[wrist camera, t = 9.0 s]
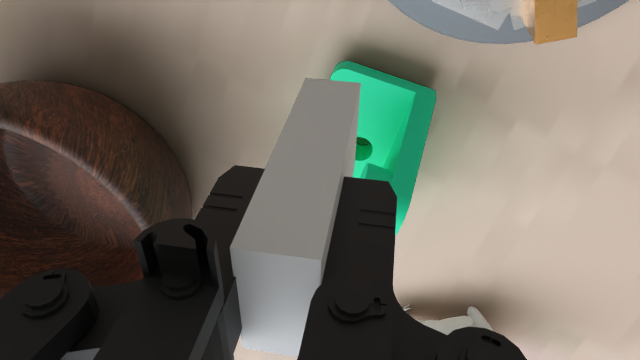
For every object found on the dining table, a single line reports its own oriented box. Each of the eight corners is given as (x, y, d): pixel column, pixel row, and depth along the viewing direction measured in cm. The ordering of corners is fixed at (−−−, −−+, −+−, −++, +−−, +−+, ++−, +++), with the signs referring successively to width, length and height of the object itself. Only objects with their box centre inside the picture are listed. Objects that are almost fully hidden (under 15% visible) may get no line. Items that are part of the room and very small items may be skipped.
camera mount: (340, 51, 36) (313, 114, 28) (435, 84, 36) (437, 156, 28) (301, 173, 43) (272, 251, 35) (381, 200, 43) (370, 284, 35)
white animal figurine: (493, 425, 45) (368, 389, 47) (492, 349, 51) (382, 321, 54) (512, 387, 41) (375, 351, 43) (508, 311, 48) (390, 283, 50)
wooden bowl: (8, -9, 38) (-107, 32, 30) (262, 172, 44) (224, 249, 36) (-45, 176, 52) (-135, 239, 44) (153, 295, 58) (108, 371, 49)
